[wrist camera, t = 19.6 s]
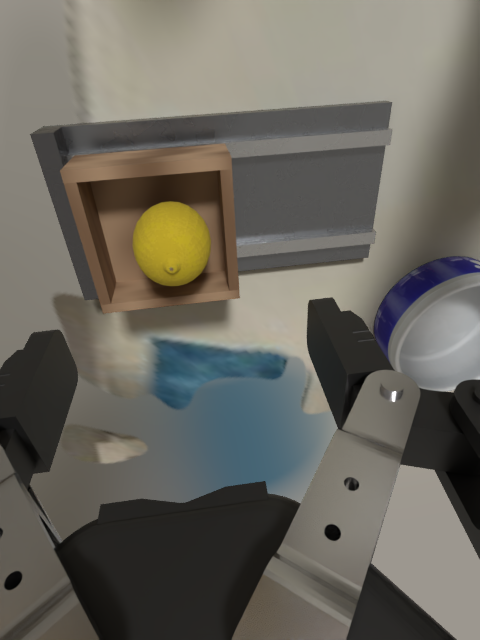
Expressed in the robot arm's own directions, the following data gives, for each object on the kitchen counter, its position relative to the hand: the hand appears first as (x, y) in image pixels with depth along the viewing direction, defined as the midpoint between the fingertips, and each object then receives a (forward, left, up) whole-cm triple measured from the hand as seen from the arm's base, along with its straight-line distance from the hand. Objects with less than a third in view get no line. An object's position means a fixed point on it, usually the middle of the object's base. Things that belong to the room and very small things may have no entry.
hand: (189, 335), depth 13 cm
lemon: (+1, +4, -20) cm, 21 cm away
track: (-4, +4, -25) cm, 26 cm away
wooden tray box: (+2, +4, -23) cm, 23 cm away
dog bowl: (-28, +20, -26) cm, 43 cm away
